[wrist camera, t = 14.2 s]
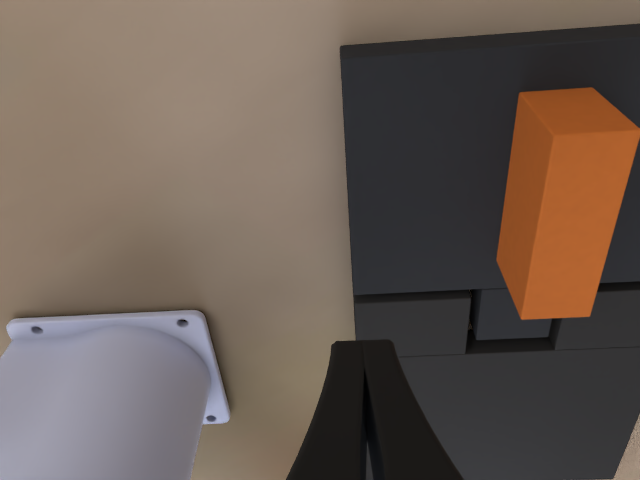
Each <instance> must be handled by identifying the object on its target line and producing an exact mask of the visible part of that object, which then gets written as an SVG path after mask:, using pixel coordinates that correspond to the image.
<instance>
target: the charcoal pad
mask: <svg viewBox="0 0 640 480" xmlns="http://www.w3.org/2000/svg"><path fill="white" fill-rule="evenodd" d="M340 60H341V79H342V97H343V116H344V134H345V153H346V171H347V190H348V208H349V227H350V245H351V264H352V282H353V294H354V295H364V294H384V293H405V292H426V291H446V290H467V289H472V298H471V307H470V316H469V318H470V321H471V325H472V328H473V331H474V335H475V338H476V340H490V339H514V338H537V337H548V335H549V330H550V326H551V322H552V318H571V317H589V316H590V315H591V311H592V308H593V304H594V300H595V297H596V293H597V290H598V286H599V283H611V282H632V281H640V24H631V25H617V26H603V27H590V28H576V29H563V30H549V31H535V32H522V33H508V34H495V35H481V36H467V37H454V38H440V39H427V40H413V41H399V42H386V43H372V44H359V45H345V46H341V47H340Z"/></svg>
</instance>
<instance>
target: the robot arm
mask: <svg viewBox="0 0 640 480" xmlns="http://www.w3.org/2000/svg"><path fill="white" fill-rule="evenodd" d="M180 319H183V320H186V321H187V322H184V321H181V320H180ZM39 327H40V328H39ZM6 329H7V332H8V334H9V336H10V337H11V339H12V341H11V343H10V344H9V346H8V348H7V349H6V351H5V352H4V354H3V355H2V357H1V358H0V480H190V478H191V474H192V469H193V465H194V460H195V456H196V451H197V447H198V442H199V438H200V433H201V429H202V424H219V423H226V422H228V421H229V419H230V409H229V405H228V401H227V398H226V394H225V390H224V386H223V382H222V379H221V375H220V371H219V367H218V363H217V360H216V356H215V352H214V348H213V345H212V341H211V337H210V333H209V329H208V326H207V322H206V318H205V316H204V314H203V313H201V312H200V311H197V310H180V311H160V312H139V313H118V314H98V315H77V316H57V317H36V318H16V319H12V320H11V321H10V322H9V323H8V325H7V327H6ZM367 443H368V449H369V456H370V462H371V469H372V475H373V480H464V478H463V477H462V476H461V474H460V473H459V471H458V470H457V468H456V467H455V465H454V464H453V462H452V461H451V459H450V457H449V456H448V454H447V453H446V451H445V449H444V448H443V446H442V445H441V443H440V441H439V440H438V438H437V436H436V435H435V433H434V431H433V429H432V428H431V426H430V424H429V422H428V421H427V419H426V417H425V415H424V413H423V411H422V409H421V407H420V406H419V404H418V402H417V400H416V398H415V396H414V394H413V392H412V390H411V388H410V385H409V383H408V381H407V379H406V377H405V374H404V372H403V369H402V367H401V364H400V362H399V359H398V356H397V353H396V350H395V346H394V343H393V342H392V341H391V340H389V339H381V340H357V341H336V342H335V343H334V344H332V346H331V356H330V361H329V366H328V371H327V375H326V379H325V382H324V386H323V389H322V392H321V395H320V398H319V401H318V404H317V407H316V410H315V413H314V416H313V419H312V421H311V424H310V426H309V429H308V431H307V434H306V436H305V439H304V441H303V443H302V446H301V448H300V451H299V453H298V455H297V457H296V460H295V462H294V464H293V466H292V468H291V470H290V472H289V474H288V476H287V478H286V480H366V465H367Z"/></svg>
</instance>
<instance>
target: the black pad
mask: <svg viewBox="0 0 640 480" xmlns="http://www.w3.org/2000/svg"><path fill="white" fill-rule="evenodd" d="M353 297H354V316H355V334H356V341H357V340H381V339H389V340H391V341H392V342H393V343H394V346H395V350H396V353H397V356H398V359H399V362H400V364H401V367H402V369H403V372H404V374H405V377H406V379H407V381H408V383H409V385H410V388H411V390H412V392H413V394H414V396H415V398H416V400H417V402H418V404H419V406H420V407H421V409H422V411H423V413H424V415H425V417H426V419H427V421H428V422H429V424H430V426H431V428H432V429H433V431H434V433H435V435H436V436H437V438H438V440H439V441H440V443H441V445H442V446H443V448H444V449H445V451H446V453H447V454H448V456H449V457H450V459H451V461H452V462H453V464H454V465H455V467H456V468H457V470H458V471H459V473H460V474H461V476H462V477H463V478H464V480H595V479H613V478H614V476H615V473H616V471H617V468H618V466H619V463H620V461H621V458H622V456H623V453H624V451H625V449H626V446H627V444H628V441H629V439H630V436H631V434H632V431H633V429H634V426H635V424H636V421H637V419H638V416H639V414H640V281H632V282H611V283H599V286H598V290H597V293H596V297H595V300H594V304H593V308H592V311H591V315H590V316H589V317H571V318H552V322H551V326H550V330H549V335H548V337H537V338H514V339H490V340H476V338H475V335H474V331H468V325H469V316H470V307H471V296H470V293H469V289H467V290H446V291H426V292H405V293H384V294H364V295H354V294H353ZM366 480H373V475H372V469H371V462H370V456H369V449H368V443H367V465H366Z"/></svg>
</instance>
